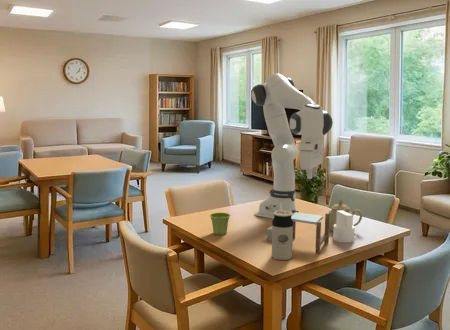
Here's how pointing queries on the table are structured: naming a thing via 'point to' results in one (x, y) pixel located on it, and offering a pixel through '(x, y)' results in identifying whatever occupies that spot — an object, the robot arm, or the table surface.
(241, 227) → the table surface
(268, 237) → the stone
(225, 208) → the table surface
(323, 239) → the frame
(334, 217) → the olive teapot
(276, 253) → the travel mug
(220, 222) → the plant pot
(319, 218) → the trapdoor
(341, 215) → the base with upright slab
